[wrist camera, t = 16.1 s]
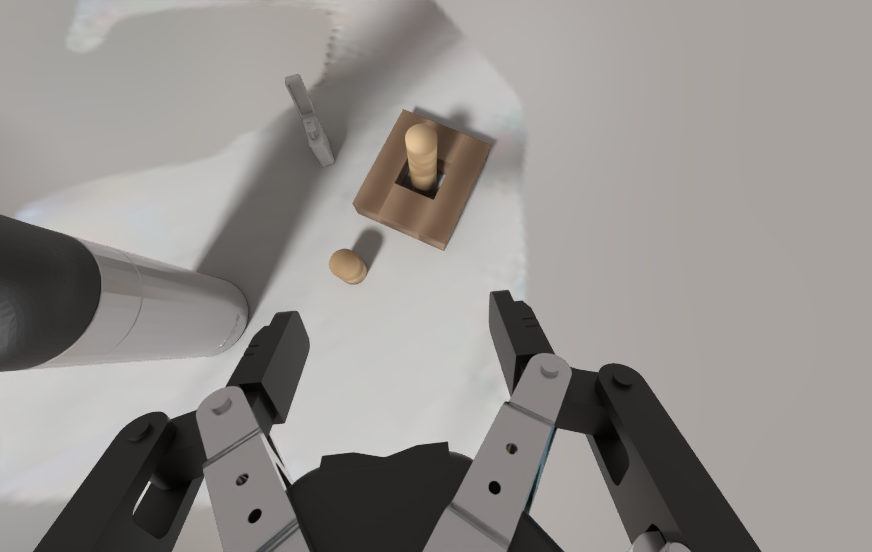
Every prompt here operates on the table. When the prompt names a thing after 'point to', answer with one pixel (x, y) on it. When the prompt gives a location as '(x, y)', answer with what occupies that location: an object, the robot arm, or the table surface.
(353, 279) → the short pin
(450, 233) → the hole plate
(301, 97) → the lighter
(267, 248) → the table surface
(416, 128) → the long pin
